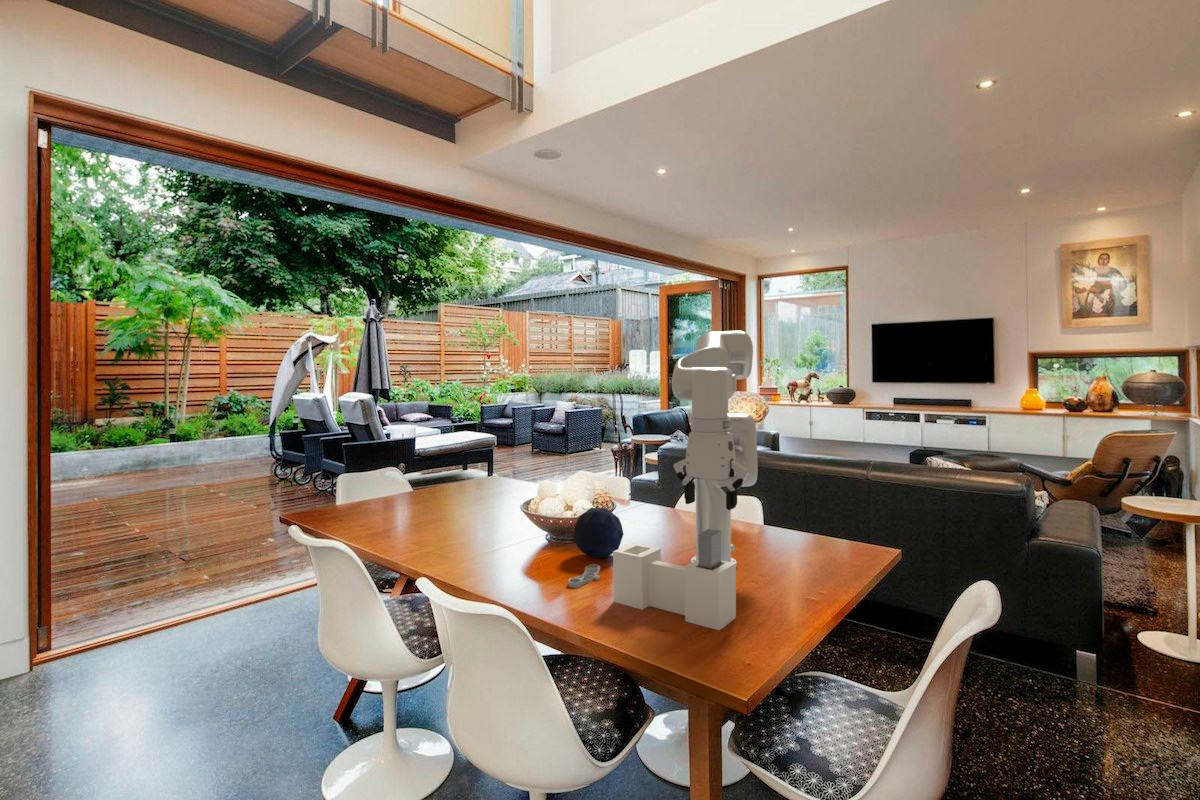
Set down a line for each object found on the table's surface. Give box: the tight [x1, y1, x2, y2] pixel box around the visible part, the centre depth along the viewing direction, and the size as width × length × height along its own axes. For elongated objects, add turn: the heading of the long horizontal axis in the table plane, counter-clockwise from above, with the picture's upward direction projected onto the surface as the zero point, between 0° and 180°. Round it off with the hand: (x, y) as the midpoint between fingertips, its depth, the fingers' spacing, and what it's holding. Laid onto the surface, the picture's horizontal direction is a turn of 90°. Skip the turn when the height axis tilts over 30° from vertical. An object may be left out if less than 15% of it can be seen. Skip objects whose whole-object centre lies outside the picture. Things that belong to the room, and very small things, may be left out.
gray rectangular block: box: [698, 529, 721, 570], centre depth 130 cm, size 5×3×11 cm, turn 145°
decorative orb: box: [573, 507, 624, 559], centre depth 176 cm, size 14×15×15 cm
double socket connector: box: [612, 543, 737, 631], centre depth 136 cm, size 8×27×12 cm, turn 52°
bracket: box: [567, 563, 601, 589], centre depth 158 cm, size 8×2×15 cm
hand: (710, 505), depth 129 cm, fingers open, 9 cm apart
